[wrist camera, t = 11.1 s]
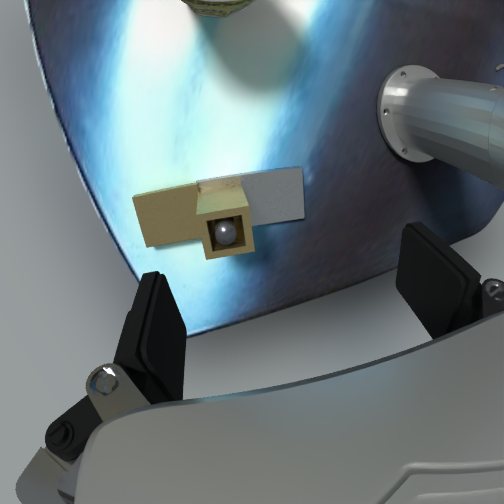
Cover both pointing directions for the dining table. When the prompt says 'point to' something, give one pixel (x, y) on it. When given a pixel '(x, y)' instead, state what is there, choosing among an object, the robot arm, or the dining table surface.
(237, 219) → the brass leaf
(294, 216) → the steel leaf with pin
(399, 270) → the robot arm
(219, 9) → the ceramic cup
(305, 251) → the dining table surface
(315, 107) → the dining table surface
